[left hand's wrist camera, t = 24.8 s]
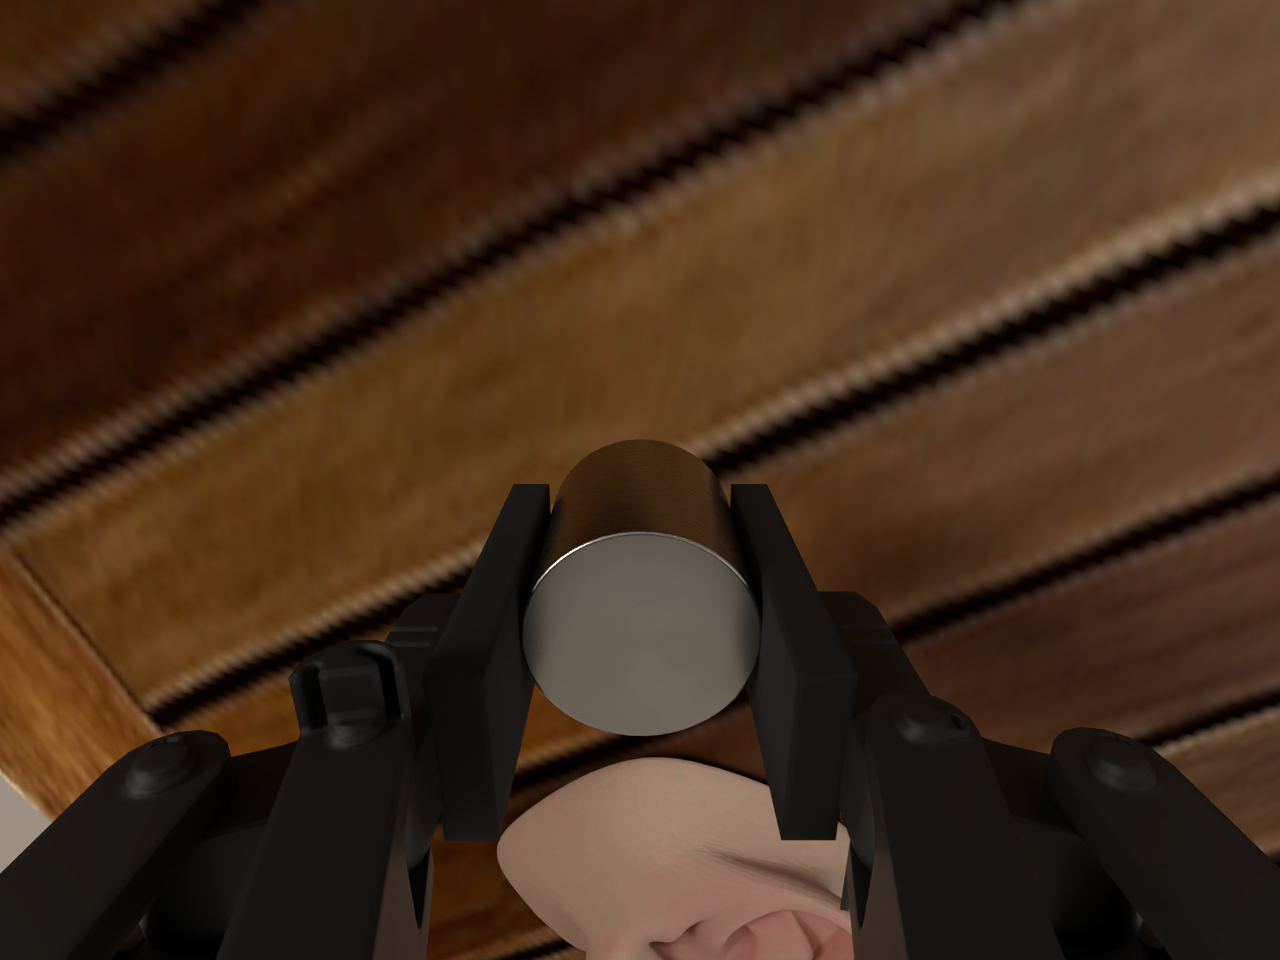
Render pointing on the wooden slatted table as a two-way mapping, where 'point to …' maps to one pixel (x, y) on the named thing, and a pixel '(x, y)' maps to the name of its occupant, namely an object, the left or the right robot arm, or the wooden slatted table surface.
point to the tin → (641, 594)
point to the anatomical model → (677, 868)
